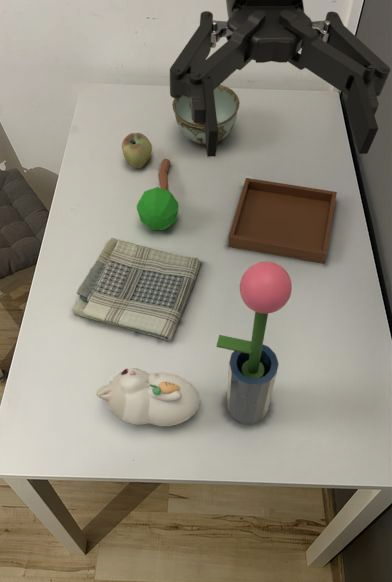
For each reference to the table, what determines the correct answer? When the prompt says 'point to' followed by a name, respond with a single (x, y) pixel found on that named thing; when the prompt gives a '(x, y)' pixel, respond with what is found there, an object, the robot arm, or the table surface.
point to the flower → (259, 310)
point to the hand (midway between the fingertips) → (291, 143)
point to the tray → (283, 220)
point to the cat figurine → (150, 397)
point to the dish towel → (137, 288)
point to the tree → (158, 203)
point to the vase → (250, 387)
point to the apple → (136, 149)
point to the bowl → (225, 115)
